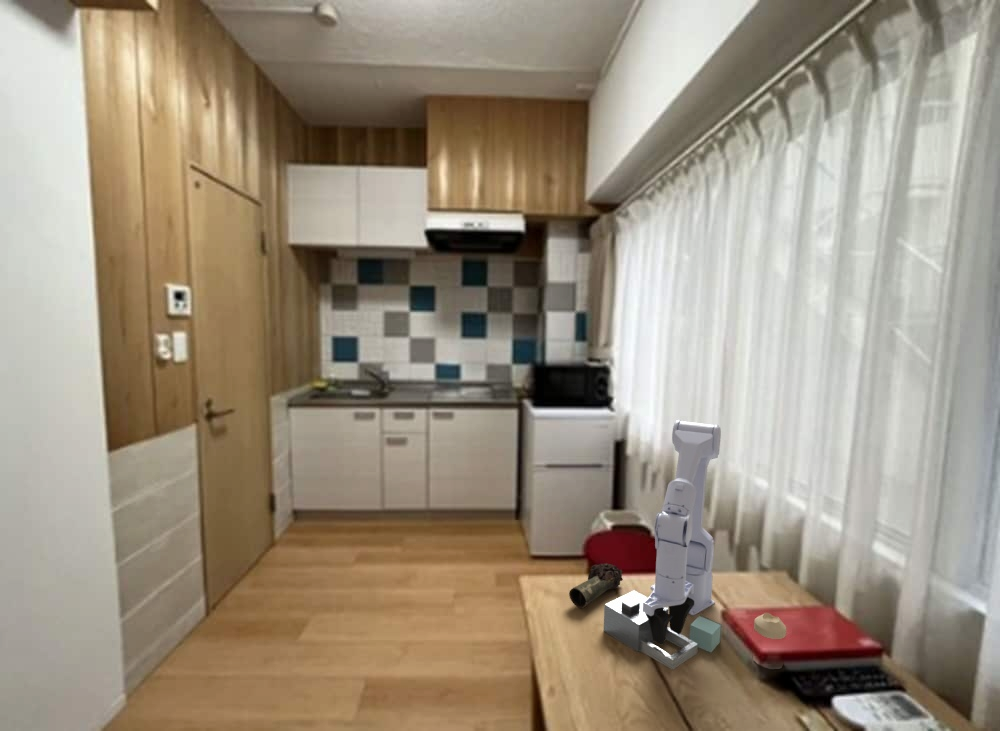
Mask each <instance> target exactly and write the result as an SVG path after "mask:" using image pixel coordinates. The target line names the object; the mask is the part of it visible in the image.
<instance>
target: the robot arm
mask: <svg viewBox="0 0 1000 731" xmlns="http://www.w3.org/2000/svg"><path fill="white" fill-rule="evenodd" d="M721 433H722V431H721V426H719V424H710V423H709V424H708V423H702V422H693V421H692V422H691V421H684V420H680V419H677V420H676V421H675V422H674V424H673V427H672V434H671V441H672V444H673V446H674V450H675V451H676V452H677V453H678V456H677V457H678V458H677V464H676V465H677V467H676V472H675V478H674V479H673V480H671V481H670V482H668V483H667V484H668V485H667V488H666V492H665V497H664V501H663V503H662V508H661V513H660V512H657V514H656V517H655V520H654V526H653V527H654V529H653V530H654V531H653V535H654V539H655V540H654V541H655V542H654V543H655V544H654V546H655V549H656V561H655V580H654V582H655V583H653V584H652V585H650V590H651V591H652V592H651V593H650V595H649V596H648V599H647V600H646V601H645V602H643V612H644V613H645V614H646V616H647V618H648V621H649V624H650V627H651V632H652V637H653V640H654V641H655V642H654V643H657V644H659V645H661V646H663V645H664V643H665V642H666V639H665V637H666V630H667V626H668V627H669V628H670V629H671V630H672V631H674V632H676V633H677V634H681V635H682V632H683V628H684V626H685V623H686V620H687V617H688V615H691V616H695V615H697V614H698V613H701V612H702V611H704V610H705V609H708V608H709V607H711V606H713V605H714V604H716V603H715V600H713V599H712V594H713V593H712V592H713V579H714V578H713V576H714V575H713V573H712V569H713V565H714V558H715V557H714V556H715V555H714V554H715V547H714V544H715V541H714V537H713V536H712V535H711V534H710V533H709V532H708V531H707V530H706V529H705V528H704V527H703V523H704V511H705V510H704V509H705V498H706V488H707V487H706V486H707V474H708V465H709V463H710V461H711V460H716V459H718V458H719V455H720V447H721V439H722V438H721V437H722V434H721ZM664 607H666V608H668V609H669V611H668V613H666V612H665V610H664Z"/></svg>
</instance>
